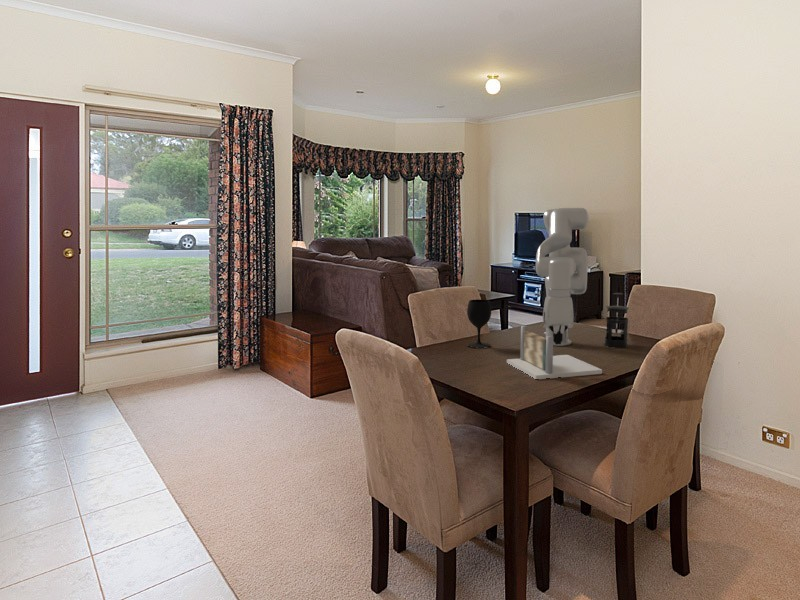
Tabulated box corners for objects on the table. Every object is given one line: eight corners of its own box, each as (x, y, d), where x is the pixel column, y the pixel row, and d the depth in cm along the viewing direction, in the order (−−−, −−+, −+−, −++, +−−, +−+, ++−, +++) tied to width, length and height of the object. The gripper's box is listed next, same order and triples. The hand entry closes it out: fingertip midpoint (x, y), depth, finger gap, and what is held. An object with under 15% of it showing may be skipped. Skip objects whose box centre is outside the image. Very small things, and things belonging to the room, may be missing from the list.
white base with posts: (506, 363, 212) (507, 326, 210) (567, 358, 219) (568, 322, 217) (535, 379, 190) (536, 338, 188) (601, 373, 197) (603, 333, 194)
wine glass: (464, 347, 239) (464, 302, 236) (470, 342, 249) (470, 298, 246) (487, 349, 235) (488, 303, 232) (493, 344, 245) (493, 299, 242)
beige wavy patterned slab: (523, 359, 210) (523, 331, 208) (527, 359, 210) (528, 330, 209) (544, 370, 195) (544, 339, 193) (548, 369, 195) (549, 339, 193)
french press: (617, 349, 232) (619, 295, 229) (598, 345, 240) (600, 292, 237) (634, 345, 239) (637, 293, 235) (615, 341, 246) (618, 290, 243)
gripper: (576, 291, 201) (575, 341, 203) (535, 292, 201) (534, 341, 203) (583, 294, 193) (581, 345, 196) (540, 295, 193) (539, 346, 196)
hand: (557, 343), depth 200 cm, fingers closed
